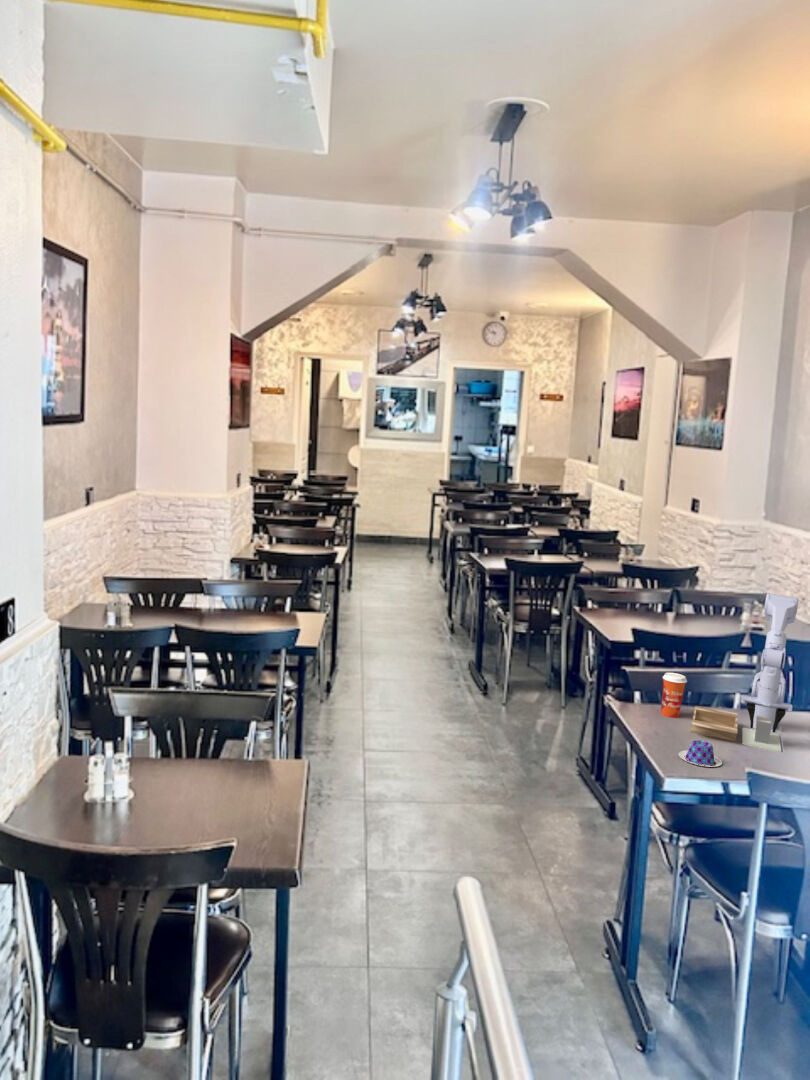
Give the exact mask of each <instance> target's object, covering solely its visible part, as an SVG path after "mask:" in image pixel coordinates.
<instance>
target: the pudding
mask: <svg viewBox="0 0 810 1080" xmlns="http://www.w3.org/2000/svg"><path fill="white" fill-rule="evenodd" d="M714 753H715V752H714V747H713V745H712V743H710V742H708V741H705V740H699V739H697V740H693V741H692V742H691V743H690V745H689V747H688V750H687V749H686V750H681V751H680V752H678V756H679V757H680V759H682V760H684V761H685V762H688V763H690V764H692V765H693V764H694V765H697V766H701V767H705V766H706V767H708V768H709V767H720V766H722V765H723V761H722V760H721V759H720V758H719V757H717V756H716V755H715V754H714ZM684 756H685V757H684ZM685 758H687V760H689V761H691V762H689V761H687V760H686V759H685ZM714 758H715V760H717V761H718V762H719V763H718V764H717V765H716V766H710V765H714V763H715V761H714ZM694 762H695V763H694ZM696 763H697V764H696ZM698 764H701V765H698ZM702 764H705V766H704V765H702Z"/></svg>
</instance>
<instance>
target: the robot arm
mask: <svg viewBox="0 0 810 1080" xmlns="http://www.w3.org/2000/svg"><path fill="white" fill-rule="evenodd" d="M764 601H765V602H764V613H763V615H764V618H765V619H766V620H767V621H769V624H770V630H769V631H768V632H767V633H766V637H765V638H766V639H765V645H764V649H763V650H762V655H761V661H760V664H761V666H760V667H761V668H760V669H761V670H760V671H759V672H757V673H756V674H755V675H754V679H753V682H752V688H751V696H748V695H747V696H746V695H741V699H740V700H741V701H740V703H741V704H746V709H747V711H748V712H747V713H748V716H749V726H750V727H749V729H755V725H756V718H757V716H763V717H768V718H771V731H770V732H772V733H777V728H778V726H779V724H780V723H781V721H782V719H784V717H785V716H786V712H788V713H792V711H793V704H790V703H786V702H784V699H785V695H786V683H787V682H786V678H785V677H784V676H782V672H783V669H784V667H785V664H786V663H785V662H786V657H787V655H786V643H787V635H786V633H785V630H786V628H787V627H788V625H789V624H793V623H794V622H795V620H796V618H797V614H798V613H797V612H798V607H799V601H800V599H799V598H798V596H795V597H794V596H787V595H783V594H782V595H780V594H775V593H770V592H769V593H767V594H766V595H765V600H764ZM781 666H782V667H781Z"/></svg>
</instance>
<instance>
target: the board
mask: <svg viewBox="0 0 810 1080" xmlns="http://www.w3.org/2000/svg"><path fill="white" fill-rule="evenodd" d="M754 731H755V729H754V728H748V727H742V728H741V744H742V745H745V746H749V747H754V748H760V749H764V750H770V751H774V752H779V753H781V752H782V747H781V740H780V734H778V733H775V732H770V737H769V744H766V743H761V742H756V741H754Z"/></svg>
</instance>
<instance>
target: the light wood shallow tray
mask: <svg viewBox="0 0 810 1080" xmlns="http://www.w3.org/2000/svg"><path fill="white" fill-rule="evenodd" d="M738 714H739V713H736V712H733V711H732V712H731V711H726V710H723V709H722V710H721V709H717V708H712V707H711V708H710V707H704V706H699V705H695V706H694V711H693V717H692V722H691V729H690V730H691V731H690V733H692V734H698V735H701V736H706V737H712V738H716V739H721V740H726V741H731V742H732V741H733V742H736V741H737V734H738V721H739V719H738V718H739V717H738Z"/></svg>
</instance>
